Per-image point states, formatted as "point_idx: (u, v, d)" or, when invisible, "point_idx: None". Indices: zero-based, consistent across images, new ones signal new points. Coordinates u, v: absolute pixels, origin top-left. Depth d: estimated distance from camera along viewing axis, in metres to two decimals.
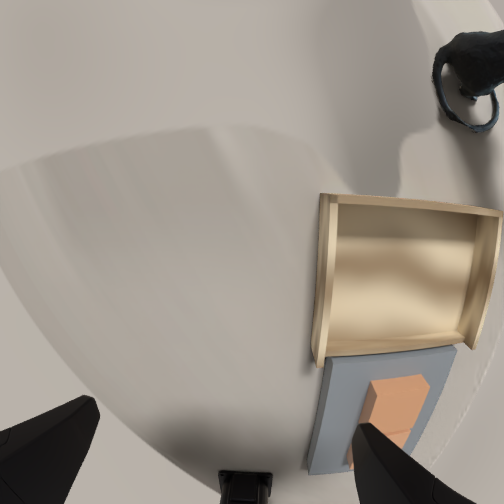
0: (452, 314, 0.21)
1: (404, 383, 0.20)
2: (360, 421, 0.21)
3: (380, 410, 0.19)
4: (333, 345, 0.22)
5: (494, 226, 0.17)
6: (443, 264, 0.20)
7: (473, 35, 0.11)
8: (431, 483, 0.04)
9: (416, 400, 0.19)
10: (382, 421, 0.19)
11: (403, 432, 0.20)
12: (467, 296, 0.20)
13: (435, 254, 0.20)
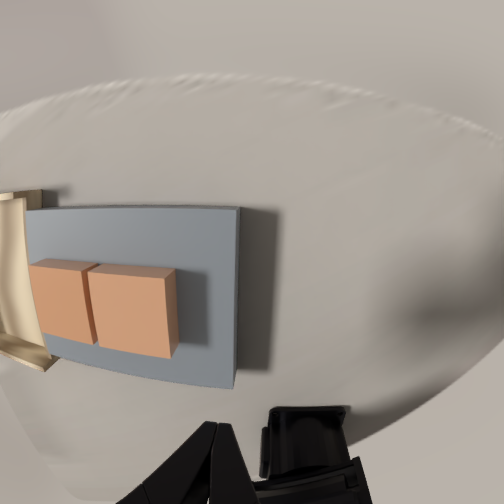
0: (22, 211, 0.19)
1: None
2: None
3: (55, 326, 0.16)
4: None
5: None
6: None
7: None
8: None
9: (41, 280, 0.15)
10: (69, 322, 0.16)
11: (89, 284, 0.15)
12: (8, 199, 0.18)
13: None
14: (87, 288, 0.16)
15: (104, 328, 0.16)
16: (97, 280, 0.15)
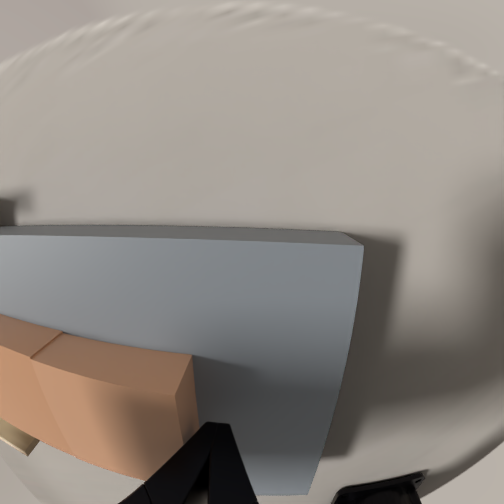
0: None
1: None
2: None
3: (16, 419, 0.08)
4: None
5: None
6: None
7: None
8: None
9: None
10: (32, 421, 0.07)
11: (39, 378, 0.07)
12: None
13: None
14: None
15: (77, 441, 0.07)
16: (49, 376, 0.07)
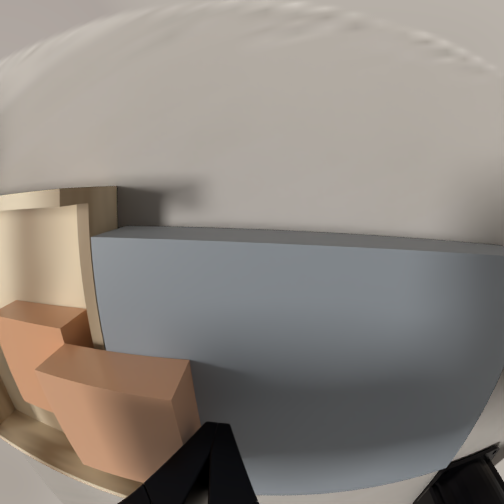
0: (66, 232, 0.10)
1: None
2: None
3: (40, 398, 0.10)
4: None
5: None
6: (8, 276, 0.11)
7: None
8: None
9: (10, 336, 0.09)
10: None
11: (43, 387, 0.07)
12: None
13: (3, 294, 0.11)
14: None
15: (83, 448, 0.08)
16: (52, 385, 0.07)
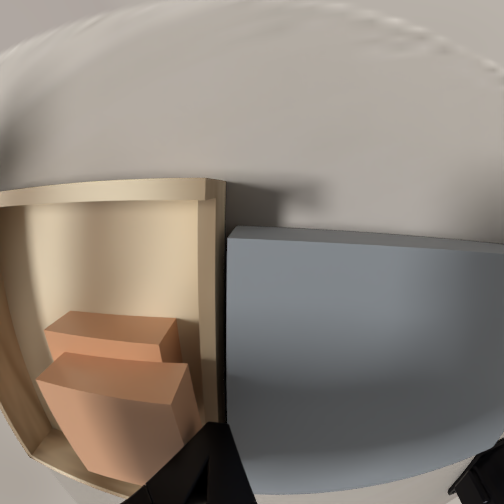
0: (157, 230, 0.10)
1: None
2: None
3: None
4: None
5: None
6: (61, 283, 0.10)
7: None
8: None
9: None
10: None
11: (45, 396, 0.07)
12: None
13: (52, 303, 0.11)
14: None
15: (87, 454, 0.07)
16: (54, 394, 0.07)
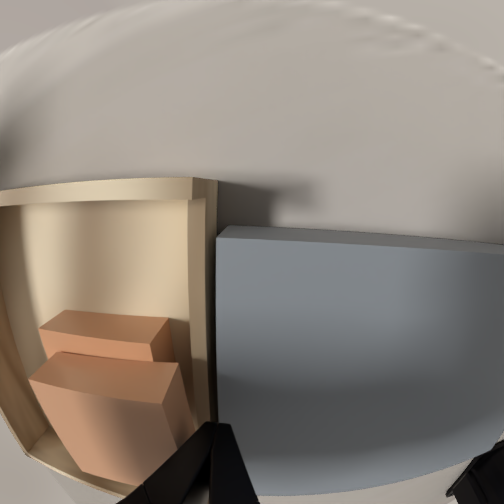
0: (149, 230, 0.10)
1: None
2: None
3: None
4: None
5: None
6: (56, 282, 0.10)
7: None
8: None
9: None
10: None
11: (38, 396, 0.07)
12: None
13: (47, 302, 0.10)
14: None
15: (81, 454, 0.07)
16: (46, 394, 0.07)
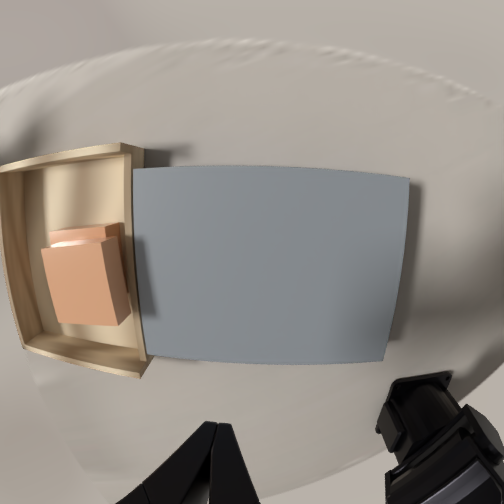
0: (111, 175, 0.18)
1: None
2: None
3: None
4: None
5: (9, 171, 0.15)
6: (61, 211, 0.18)
7: None
8: None
9: None
10: None
11: (44, 260, 0.15)
12: (88, 161, 0.17)
13: (55, 225, 0.18)
14: None
15: (59, 302, 0.15)
16: (49, 255, 0.15)
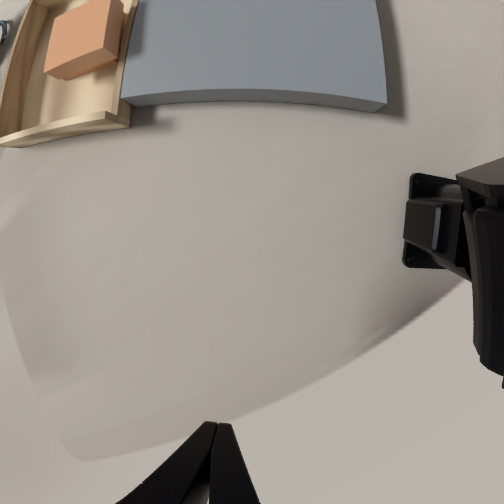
0: None
1: None
2: (112, 63, 0.16)
3: None
4: None
5: None
6: None
7: None
8: None
9: None
10: None
11: (53, 26, 0.12)
12: None
13: None
14: None
15: (53, 52, 0.12)
16: (60, 18, 0.11)
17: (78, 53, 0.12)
